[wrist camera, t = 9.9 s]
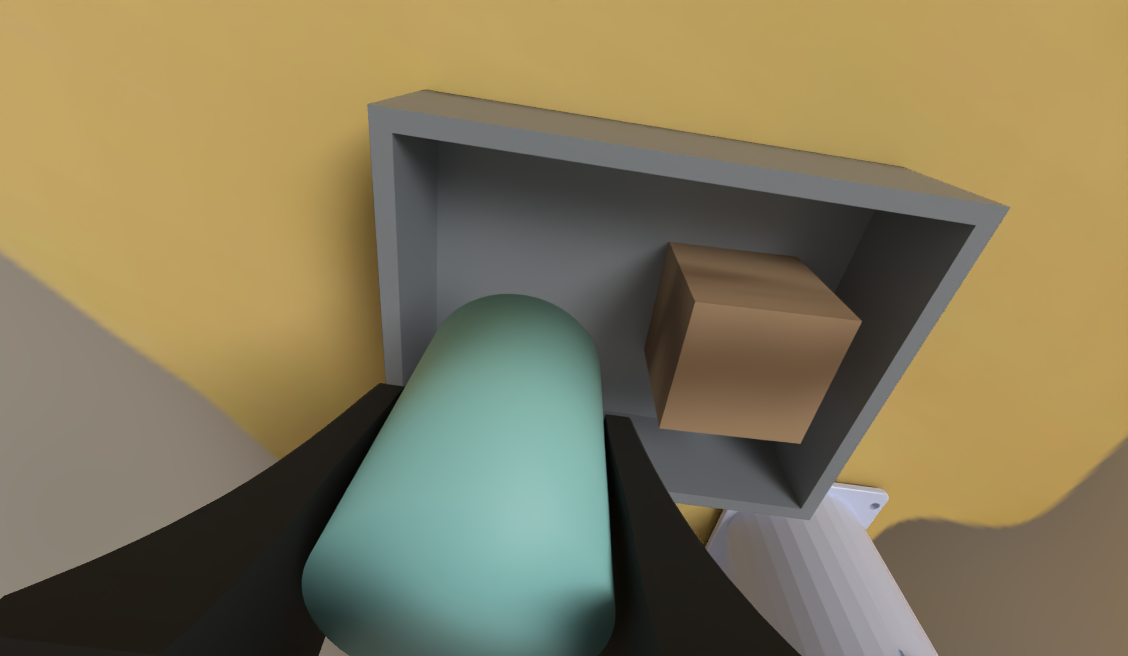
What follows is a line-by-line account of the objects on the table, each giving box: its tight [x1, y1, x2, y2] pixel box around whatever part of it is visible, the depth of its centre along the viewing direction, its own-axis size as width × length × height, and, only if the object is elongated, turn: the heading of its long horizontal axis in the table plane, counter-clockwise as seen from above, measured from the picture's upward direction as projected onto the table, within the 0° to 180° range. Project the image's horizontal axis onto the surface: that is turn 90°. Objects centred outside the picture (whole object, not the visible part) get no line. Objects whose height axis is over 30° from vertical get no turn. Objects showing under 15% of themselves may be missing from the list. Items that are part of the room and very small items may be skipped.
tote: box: [367, 90, 1010, 520], centre depth 18 cm, size 13×17×5 cm
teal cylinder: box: [302, 294, 616, 656], centre depth 11 cm, size 5×5×7 cm
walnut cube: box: [644, 242, 862, 444], centre depth 17 cm, size 5×5×5 cm
